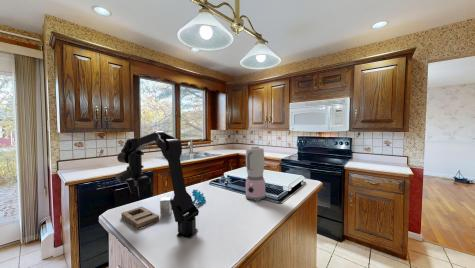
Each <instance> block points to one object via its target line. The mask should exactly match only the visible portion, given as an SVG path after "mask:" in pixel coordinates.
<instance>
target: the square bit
mask: <svg viewBox="0 0 475 268" xmlns="http://www.w3.org/2000/svg"><path fill="white" fill-rule="evenodd" d="M172 199H173V198H172V196H165V197H164V196H162V197H161V199H160V200H159V209H160V213H159V217H170V216H171V214H172V213H173V210H171V203H170V200H172Z"/></svg>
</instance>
